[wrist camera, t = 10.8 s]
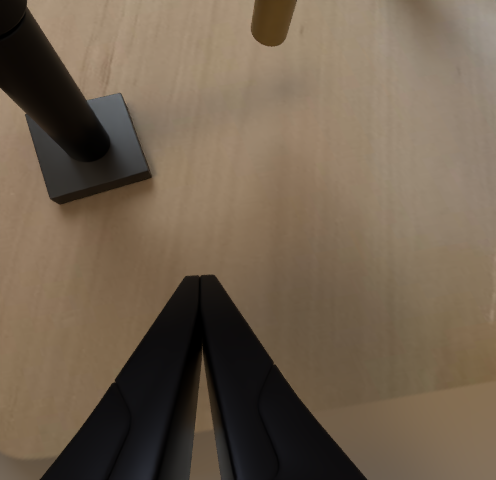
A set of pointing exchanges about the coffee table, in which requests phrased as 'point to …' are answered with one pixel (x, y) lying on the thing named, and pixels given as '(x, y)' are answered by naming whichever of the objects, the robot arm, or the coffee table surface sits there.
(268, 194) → the coffee table surface
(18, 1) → the spout
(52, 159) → the tap column
